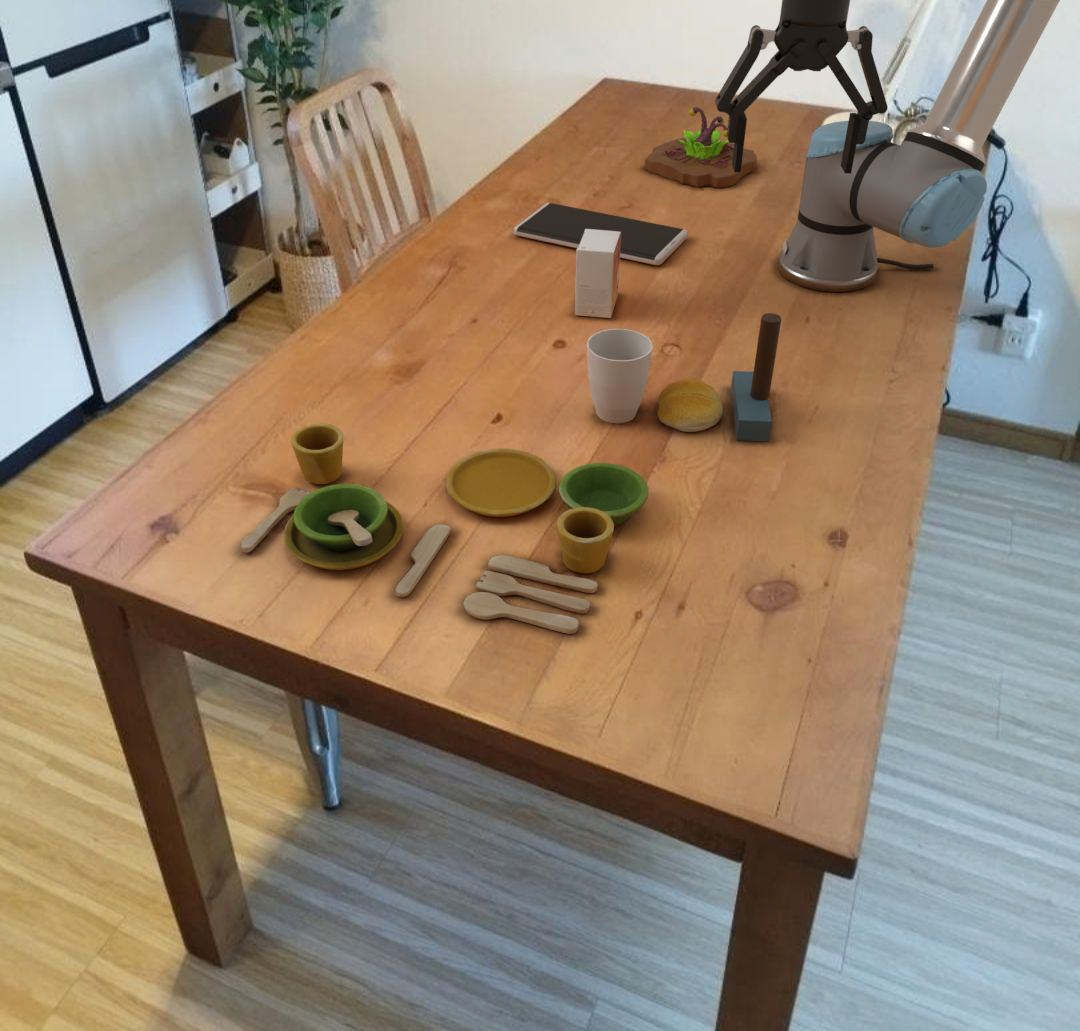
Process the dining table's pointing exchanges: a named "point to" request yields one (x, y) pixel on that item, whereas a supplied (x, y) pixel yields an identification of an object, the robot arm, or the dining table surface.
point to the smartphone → (571, 222)
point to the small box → (597, 273)
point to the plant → (700, 157)
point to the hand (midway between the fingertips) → (790, 169)
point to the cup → (618, 372)
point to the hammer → (756, 385)
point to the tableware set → (478, 485)
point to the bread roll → (689, 405)
